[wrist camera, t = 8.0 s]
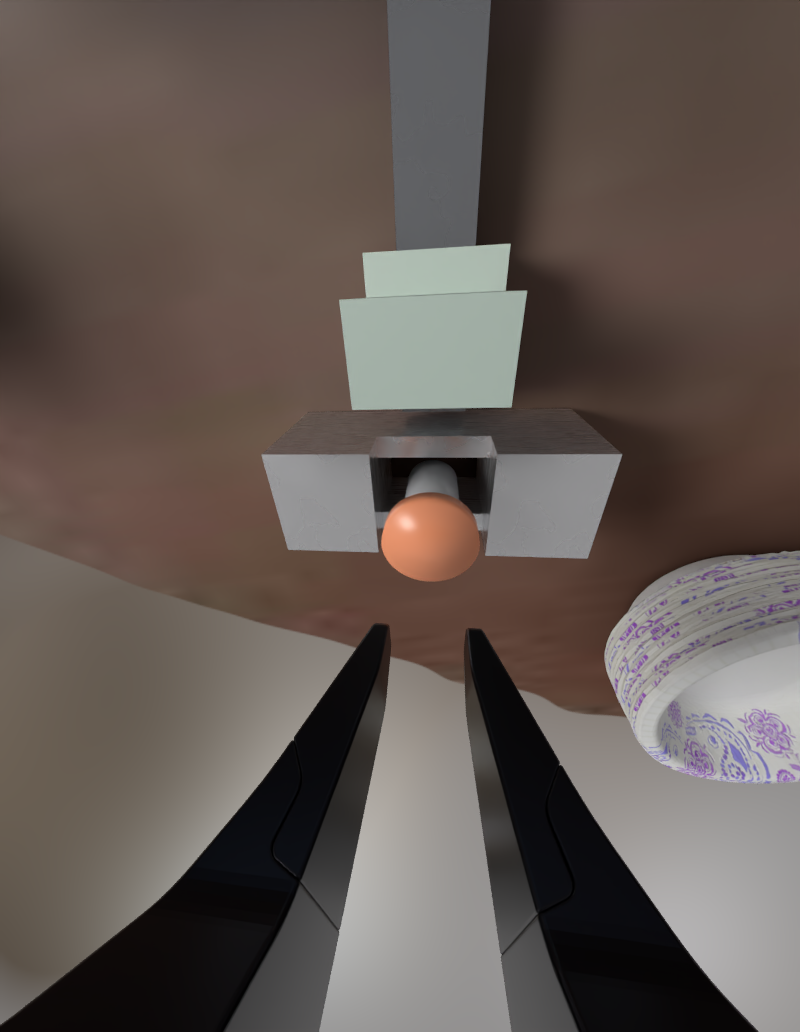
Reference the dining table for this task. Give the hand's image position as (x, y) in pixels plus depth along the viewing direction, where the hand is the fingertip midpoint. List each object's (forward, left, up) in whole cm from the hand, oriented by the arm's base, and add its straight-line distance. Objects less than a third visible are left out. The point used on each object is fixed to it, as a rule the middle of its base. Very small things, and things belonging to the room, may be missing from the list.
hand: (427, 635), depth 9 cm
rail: (-10, 0, -12) cm, 16 cm away
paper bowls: (+11, +19, -13) cm, 26 cm away
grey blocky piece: (0, 0, -12) cm, 12 cm away
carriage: (-7, 0, -12) cm, 14 cm away
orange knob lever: (0, 0, -9) cm, 9 cm away
